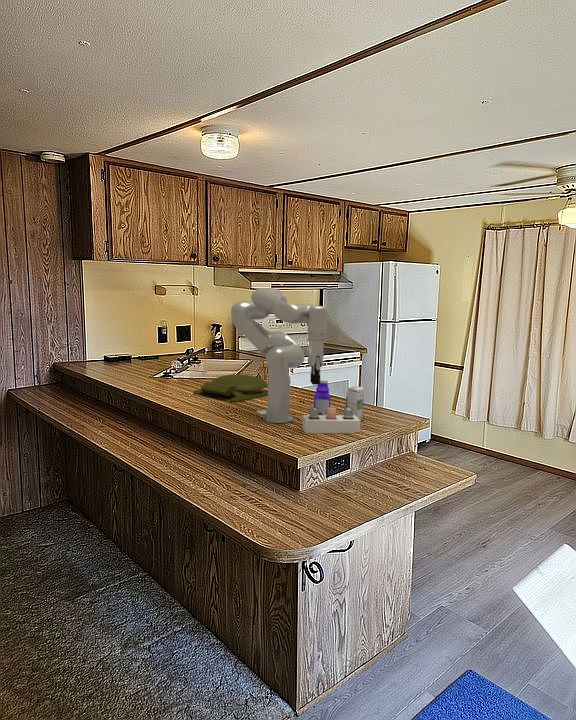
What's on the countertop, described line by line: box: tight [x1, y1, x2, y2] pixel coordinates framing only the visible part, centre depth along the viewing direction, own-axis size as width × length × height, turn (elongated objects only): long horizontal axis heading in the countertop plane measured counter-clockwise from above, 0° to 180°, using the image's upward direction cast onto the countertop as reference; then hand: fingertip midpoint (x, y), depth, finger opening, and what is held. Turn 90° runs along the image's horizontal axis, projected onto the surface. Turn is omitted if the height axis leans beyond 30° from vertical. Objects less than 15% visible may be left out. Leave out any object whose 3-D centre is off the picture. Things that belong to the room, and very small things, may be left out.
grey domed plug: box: [343, 406, 353, 419], centre depth 216 cm, size 4×4×5 cm
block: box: [301, 414, 362, 434], centre depth 216 cm, size 22×9×5 cm, turn 95°
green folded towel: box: [192, 373, 268, 403], centre depth 281 cm, size 35×31×10 cm
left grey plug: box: [309, 406, 319, 419], centre depth 215 cm, size 4×4×5 cm
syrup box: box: [344, 385, 365, 421], centre depth 232 cm, size 6×6×14 cm
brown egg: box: [327, 406, 337, 419], centre depth 215 cm, size 4×4×5 cm
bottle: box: [313, 378, 331, 415], centre depth 233 cm, size 7×6×17 cm
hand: (315, 383), depth 213 cm, fingers open, 3 cm apart
